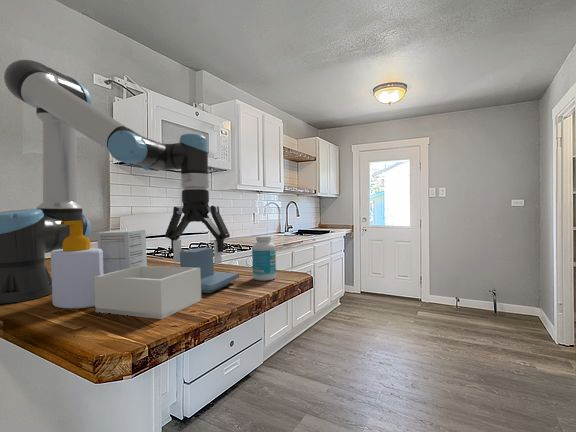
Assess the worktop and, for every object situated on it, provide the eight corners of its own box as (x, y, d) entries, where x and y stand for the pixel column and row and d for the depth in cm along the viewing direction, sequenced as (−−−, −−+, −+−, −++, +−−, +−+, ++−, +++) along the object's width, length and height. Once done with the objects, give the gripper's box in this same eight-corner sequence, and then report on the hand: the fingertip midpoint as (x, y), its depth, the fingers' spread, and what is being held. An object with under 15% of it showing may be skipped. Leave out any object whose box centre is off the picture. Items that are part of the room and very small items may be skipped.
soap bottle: (41, 307, 76) (38, 221, 76) (73, 297, 84) (70, 220, 84) (85, 310, 73) (82, 221, 72) (114, 300, 81) (111, 219, 80)
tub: (95, 312, 71) (94, 276, 71) (142, 295, 85) (141, 265, 84) (162, 319, 66) (160, 280, 65) (201, 300, 79) (200, 267, 79)
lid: (153, 291, 89) (151, 252, 89) (186, 279, 103) (185, 246, 103) (212, 295, 83) (211, 254, 83) (239, 282, 97) (238, 247, 97)
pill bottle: (275, 281, 98) (274, 237, 98) (251, 281, 98) (250, 237, 98) (276, 275, 105) (275, 234, 105) (254, 276, 105) (253, 235, 105)
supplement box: (149, 284, 97) (147, 229, 97) (131, 292, 88) (129, 231, 87) (119, 284, 98) (117, 229, 98) (98, 292, 89) (96, 232, 88)
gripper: (150, 190, 93) (153, 263, 93) (227, 186, 85) (229, 266, 85) (168, 191, 100) (170, 259, 101) (240, 188, 92) (242, 261, 93)
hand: (197, 262), depth 93 cm, fingers open, 13 cm apart
